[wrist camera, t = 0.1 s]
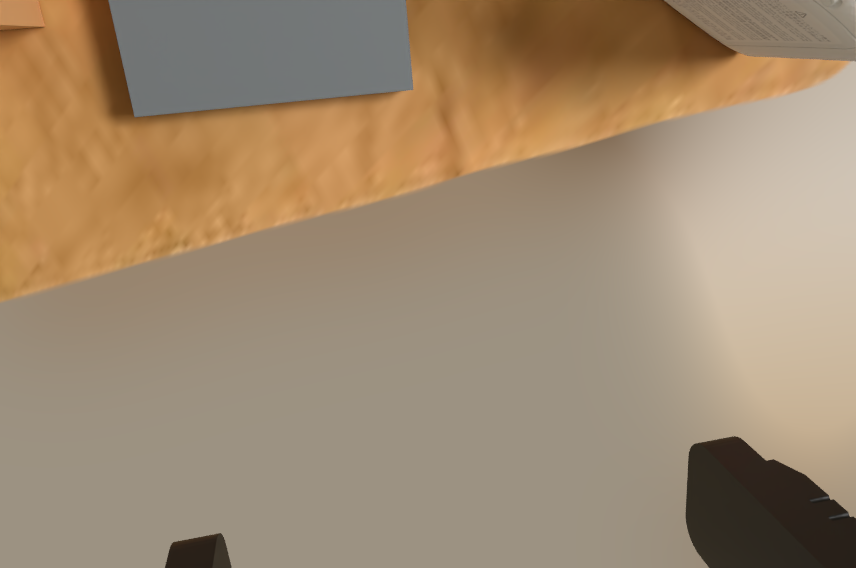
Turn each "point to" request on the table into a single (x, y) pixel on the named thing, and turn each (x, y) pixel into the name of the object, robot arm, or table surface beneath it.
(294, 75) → the board
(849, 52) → the photo printer
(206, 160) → the table surface
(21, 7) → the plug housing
